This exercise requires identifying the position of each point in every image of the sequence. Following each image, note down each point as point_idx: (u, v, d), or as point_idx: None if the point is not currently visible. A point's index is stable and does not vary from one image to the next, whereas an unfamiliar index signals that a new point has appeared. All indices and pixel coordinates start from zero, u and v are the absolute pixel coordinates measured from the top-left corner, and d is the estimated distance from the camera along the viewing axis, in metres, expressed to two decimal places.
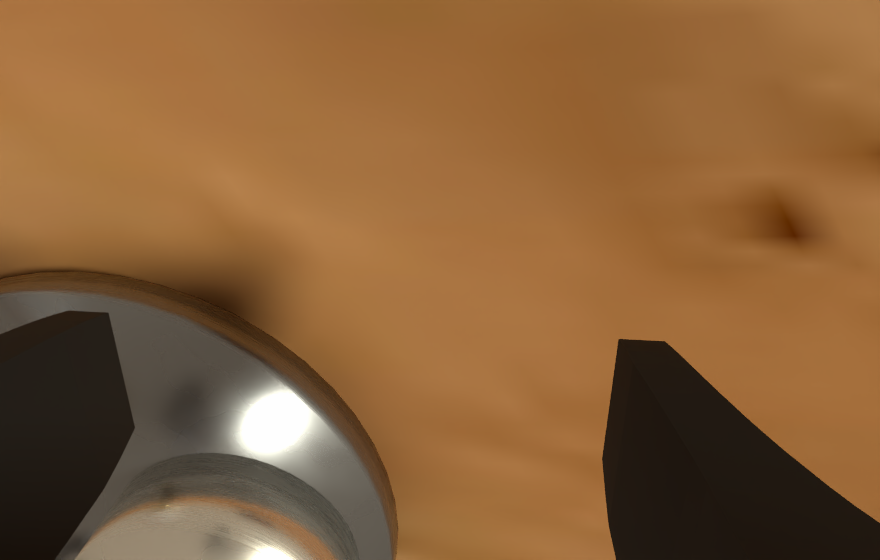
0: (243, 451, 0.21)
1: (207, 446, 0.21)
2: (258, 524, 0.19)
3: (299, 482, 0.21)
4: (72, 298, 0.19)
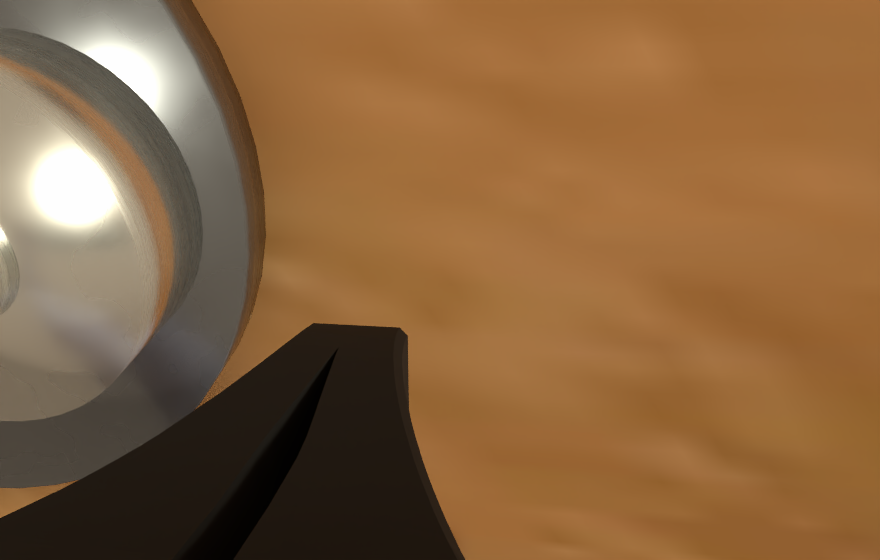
0: (21, 21, 0.15)
1: None
2: (12, 68, 0.13)
3: (101, 67, 0.15)
4: None
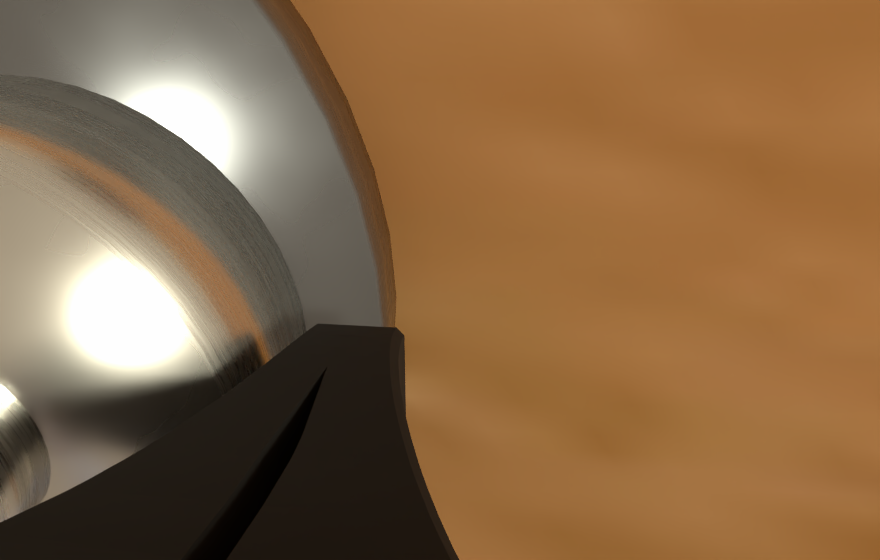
0: (64, 68, 0.10)
1: None
2: (42, 154, 0.08)
3: (170, 137, 0.10)
4: None
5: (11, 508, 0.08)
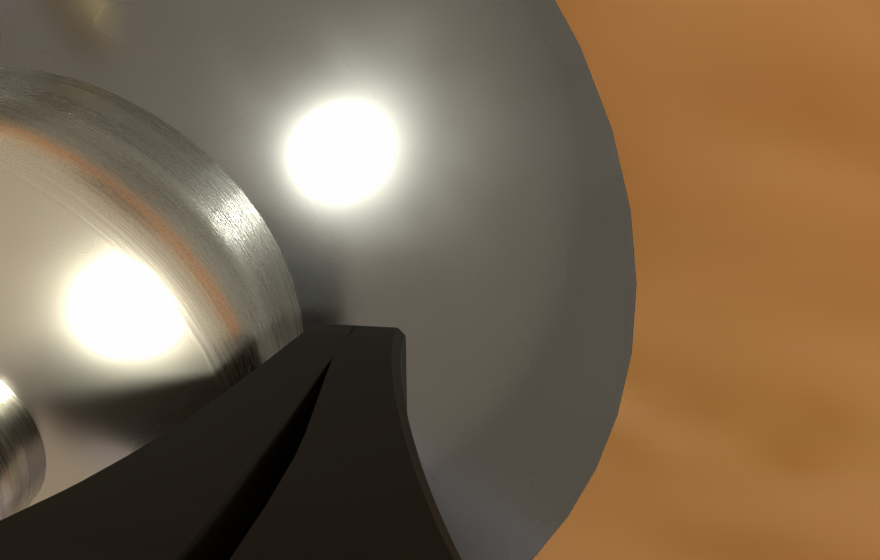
0: (343, 72, 0.09)
1: (265, 62, 0.09)
2: (48, 150, 0.08)
3: (176, 135, 0.10)
4: None
5: (6, 503, 0.08)
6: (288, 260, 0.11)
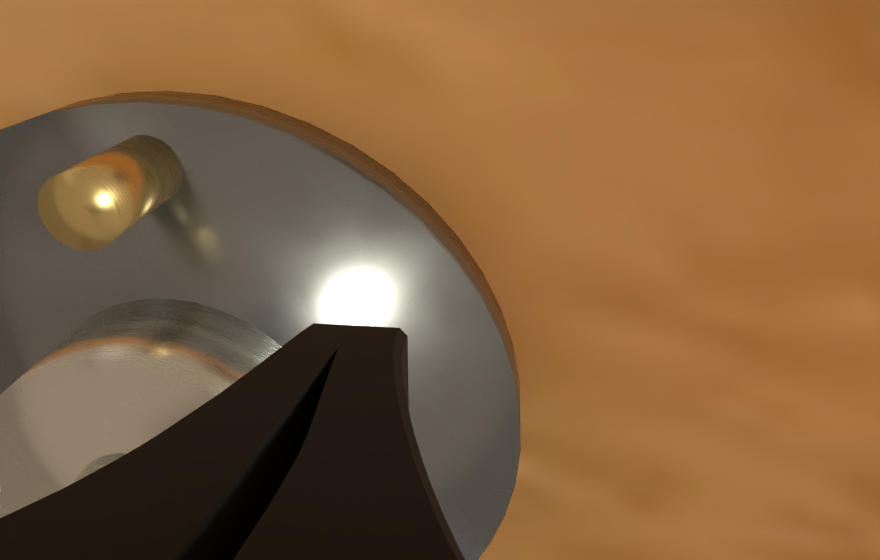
0: (356, 307, 0.17)
1: (314, 301, 0.17)
2: (210, 366, 0.16)
3: (262, 335, 0.18)
4: (165, 106, 0.16)
5: None
6: None
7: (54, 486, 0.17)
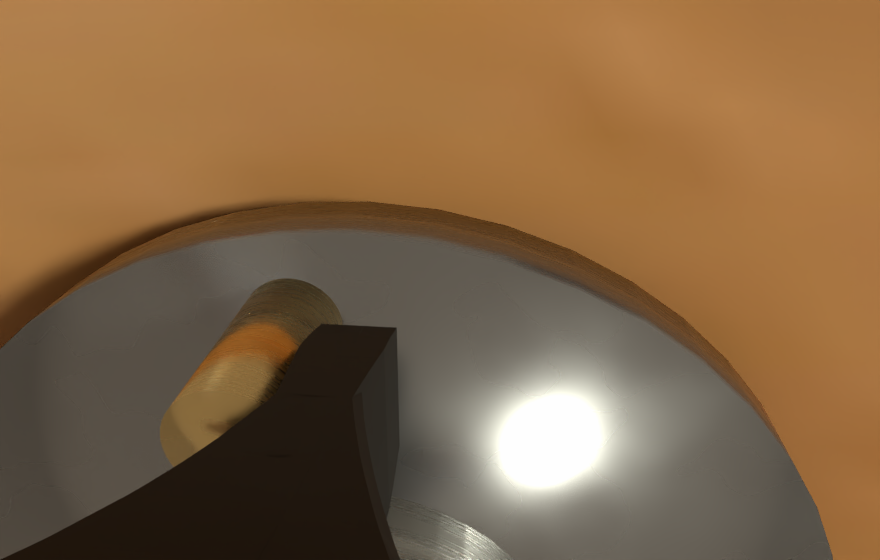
0: (599, 481, 0.12)
1: (536, 478, 0.12)
2: None
3: (461, 528, 0.13)
4: (315, 236, 0.10)
5: None
6: None
7: None
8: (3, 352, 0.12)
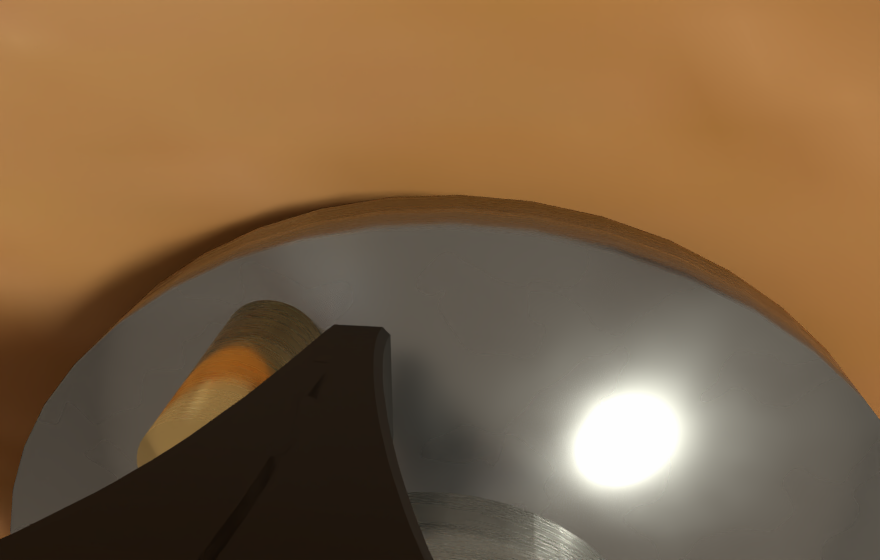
0: (623, 428, 0.11)
1: (558, 440, 0.12)
2: None
3: (501, 508, 0.12)
4: (265, 254, 0.11)
5: None
6: None
7: None
8: (33, 437, 0.13)
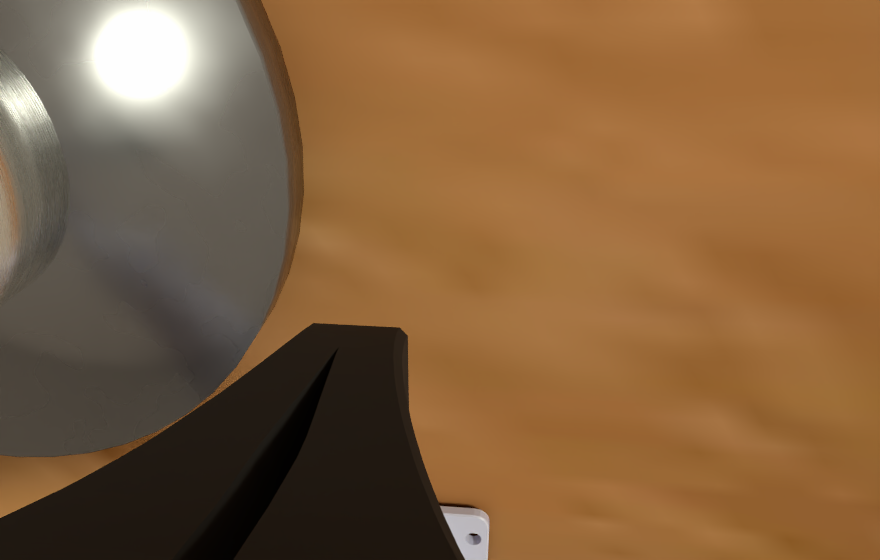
0: None
1: None
2: None
3: None
4: None
5: None
6: None
7: None
8: None
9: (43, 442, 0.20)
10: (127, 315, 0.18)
